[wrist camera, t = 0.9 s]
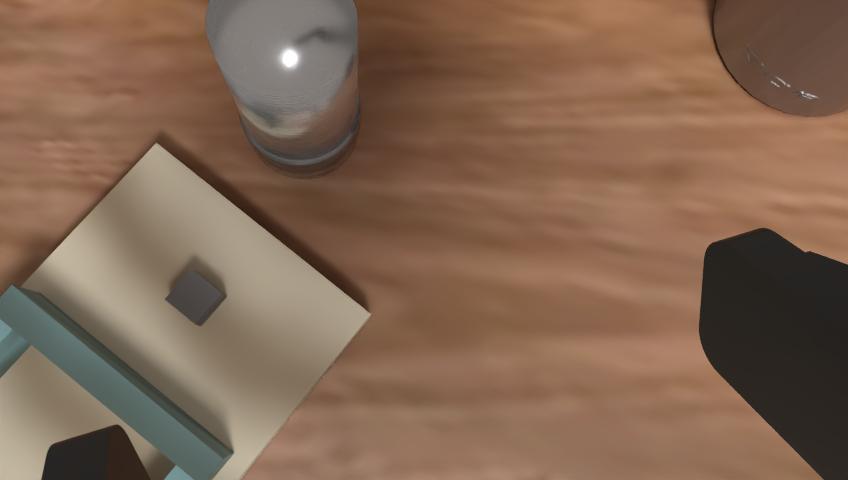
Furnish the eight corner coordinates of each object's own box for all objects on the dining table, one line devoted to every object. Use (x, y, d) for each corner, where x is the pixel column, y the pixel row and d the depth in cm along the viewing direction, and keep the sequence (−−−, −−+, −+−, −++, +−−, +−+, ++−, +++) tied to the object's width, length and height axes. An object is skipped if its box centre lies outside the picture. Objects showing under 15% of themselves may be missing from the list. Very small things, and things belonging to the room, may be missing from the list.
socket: (297, 54, 34) (273, -77, 25) (382, 120, 34) (392, 14, 24) (224, 134, 33) (169, 29, 24) (311, 203, 33) (291, 126, 23)
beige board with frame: (165, 153, 33) (139, 122, 29) (370, 317, 32) (372, 308, 28) (-182, 523, 29) (-267, 544, 25) (46, 720, 28) (-4, 774, 24)
